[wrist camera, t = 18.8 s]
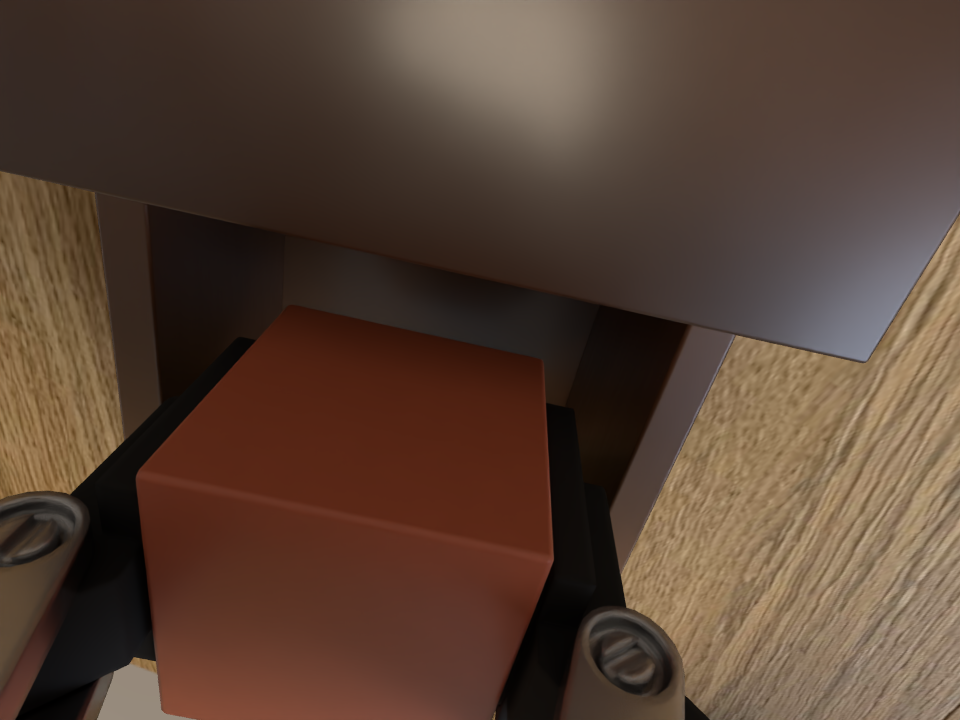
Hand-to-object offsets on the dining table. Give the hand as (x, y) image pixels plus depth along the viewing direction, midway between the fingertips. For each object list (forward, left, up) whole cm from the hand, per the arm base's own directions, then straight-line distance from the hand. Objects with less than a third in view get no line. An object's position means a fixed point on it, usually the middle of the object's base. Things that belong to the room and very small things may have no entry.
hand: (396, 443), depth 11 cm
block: (0, 0, 0) cm, 0 cm away
